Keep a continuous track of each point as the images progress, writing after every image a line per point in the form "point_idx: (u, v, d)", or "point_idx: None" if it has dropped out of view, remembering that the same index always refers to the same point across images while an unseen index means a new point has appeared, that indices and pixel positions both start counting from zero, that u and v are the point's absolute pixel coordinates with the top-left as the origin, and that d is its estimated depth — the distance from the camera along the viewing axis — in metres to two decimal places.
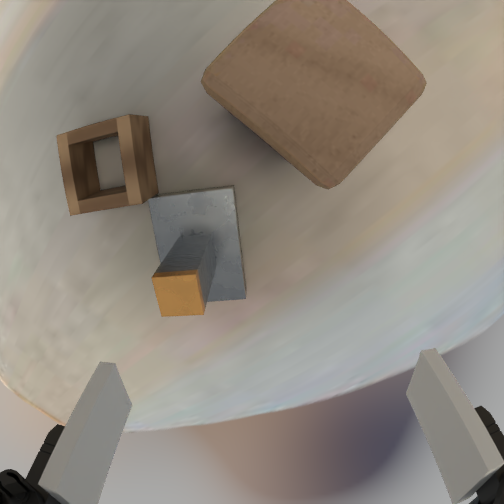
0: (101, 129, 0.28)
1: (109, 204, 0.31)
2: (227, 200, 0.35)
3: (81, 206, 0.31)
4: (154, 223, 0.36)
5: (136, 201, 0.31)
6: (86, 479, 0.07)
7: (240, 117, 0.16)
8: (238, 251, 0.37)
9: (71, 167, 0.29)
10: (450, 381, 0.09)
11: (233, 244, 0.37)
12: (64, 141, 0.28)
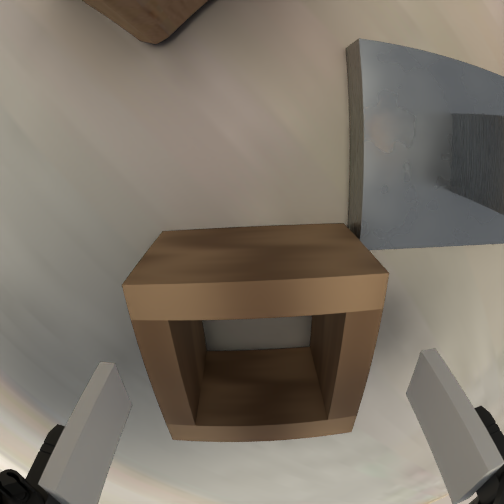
0: (161, 358, 0.12)
1: (362, 358, 0.12)
2: (387, 56, 0.11)
3: (342, 413, 0.13)
4: (413, 243, 0.14)
5: (378, 288, 0.11)
6: (86, 479, 0.07)
7: None
8: (483, 71, 0.11)
9: (247, 426, 0.13)
10: (450, 381, 0.09)
11: (473, 76, 0.11)
12: (185, 429, 0.14)
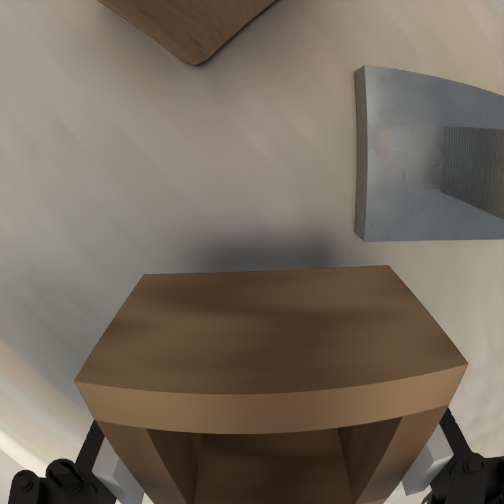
0: (142, 460, 0.07)
1: (408, 454, 0.07)
2: (387, 80, 0.14)
3: (372, 498, 0.09)
4: (410, 236, 0.17)
5: (451, 384, 0.06)
6: None
7: None
8: (473, 89, 0.13)
9: None
10: None
11: (463, 93, 0.13)
12: None
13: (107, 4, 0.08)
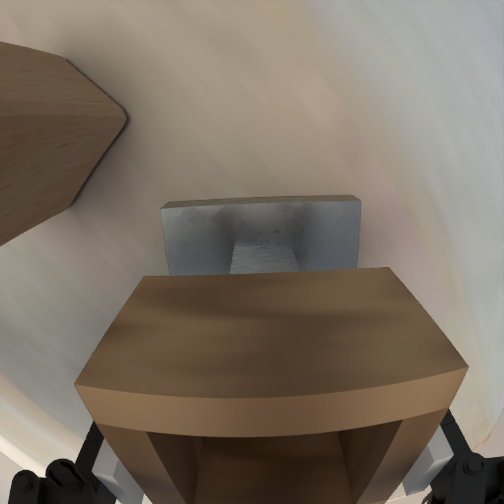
0: (142, 462, 0.07)
1: (409, 456, 0.07)
2: (179, 217, 0.21)
3: (372, 500, 0.09)
4: None
5: (451, 387, 0.06)
6: None
7: None
8: (269, 205, 0.21)
9: None
10: None
11: (256, 212, 0.21)
12: None
13: None
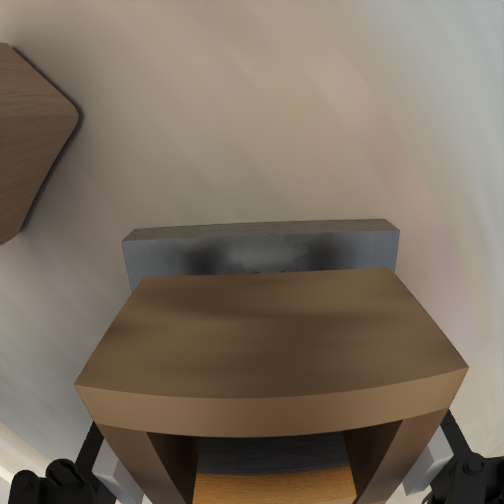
0: (142, 462, 0.07)
1: (409, 456, 0.07)
2: (147, 254, 0.15)
3: (372, 500, 0.09)
4: None
5: (451, 387, 0.06)
6: None
7: None
8: (273, 238, 0.15)
9: None
10: None
11: (255, 247, 0.15)
12: None
13: None
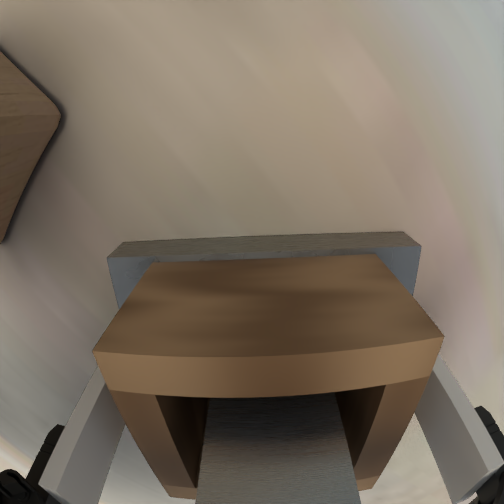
0: (150, 430, 0.08)
1: (396, 426, 0.08)
2: (135, 272, 0.13)
3: (364, 475, 0.10)
4: None
5: (429, 355, 0.07)
6: (86, 479, 0.07)
7: None
8: (279, 256, 0.13)
9: None
10: (450, 381, 0.09)
11: None
12: (184, 490, 0.10)
13: None
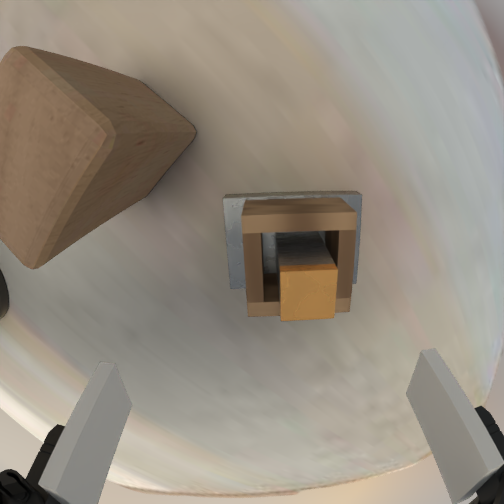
0: (253, 254, 0.26)
1: (349, 256, 0.26)
2: (236, 205, 0.31)
3: (342, 294, 0.27)
4: None
5: (353, 219, 0.25)
6: (86, 479, 0.07)
7: (56, 235, 0.14)
8: (299, 197, 0.30)
9: None
10: (450, 381, 0.09)
11: None
12: (257, 306, 0.28)
13: None
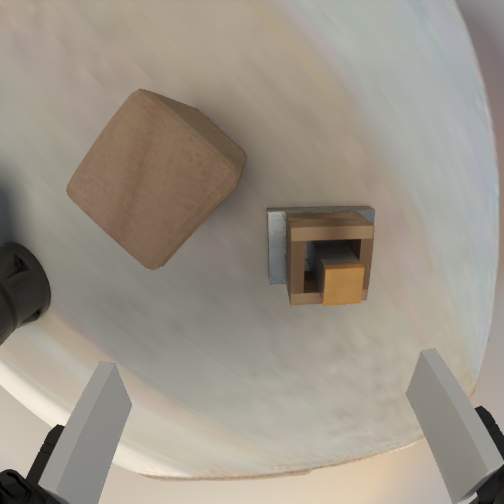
0: (298, 257, 0.34)
1: (367, 258, 0.34)
2: (278, 217, 0.39)
3: (362, 286, 0.36)
4: None
5: (371, 230, 0.33)
6: (86, 479, 0.07)
7: (181, 244, 0.22)
8: (327, 211, 0.38)
9: None
10: (450, 381, 0.09)
11: None
12: (298, 296, 0.36)
13: None
